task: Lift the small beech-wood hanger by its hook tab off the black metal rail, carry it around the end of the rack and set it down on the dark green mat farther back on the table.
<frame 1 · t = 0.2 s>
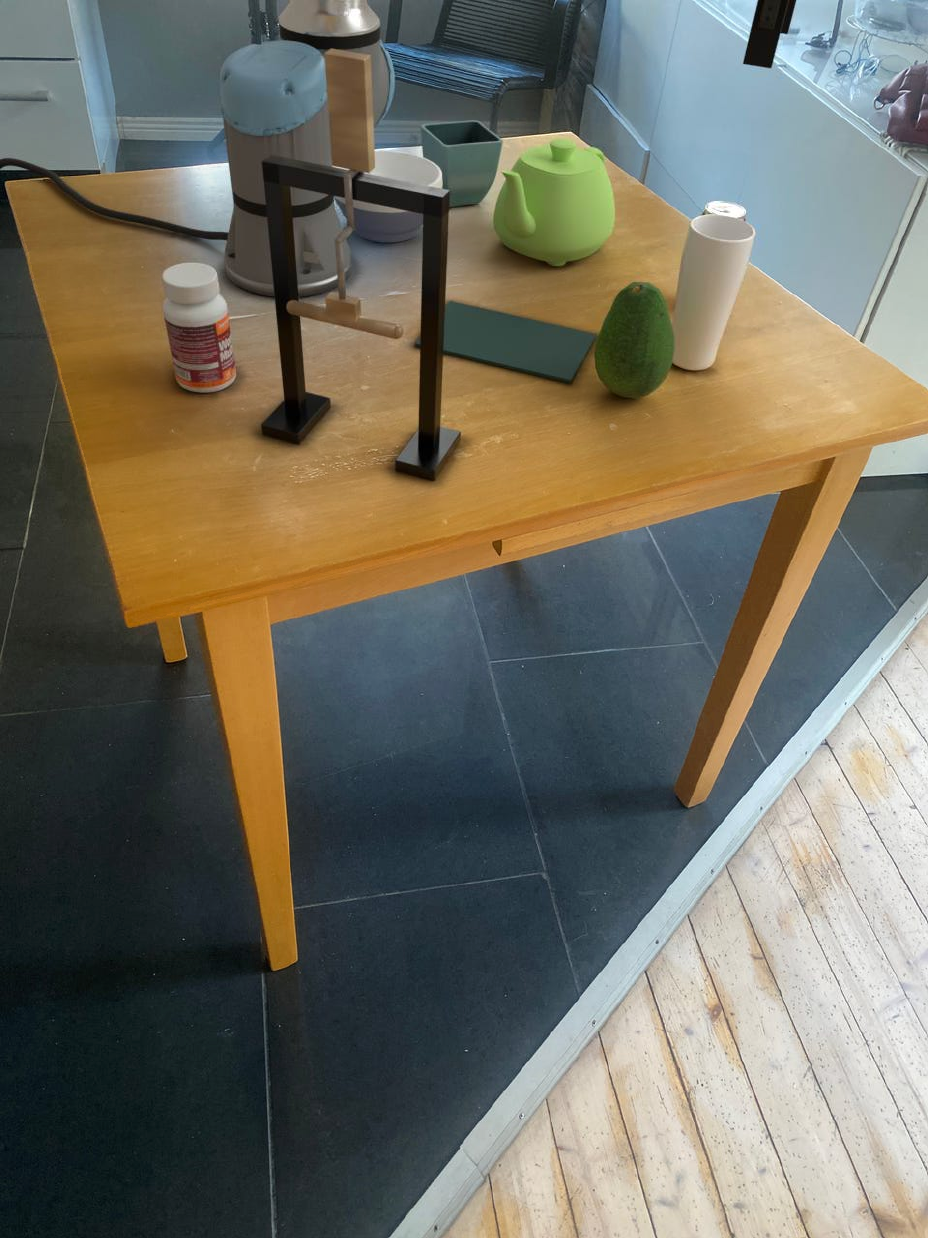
hand: (766, 47, 96), 28 cm above the table, tool pointing down, fingers open, 13 cm apart
teapot: (545, 250, 125), on the table
flower pot: (458, 200, 135), on the table
mat: (507, 341, 107), on the table
pill bottle: (206, 380, 99), on the table
drinking glass: (689, 361, 106), on the table
fruit: (625, 395, 101), on the table
soda can: (701, 309, 115), on the table
hanger: (344, 319, 81), point 14 cm above the table, touching rack
bowl: (386, 231, 126), on the table
rack: (361, 438, 92), on the table
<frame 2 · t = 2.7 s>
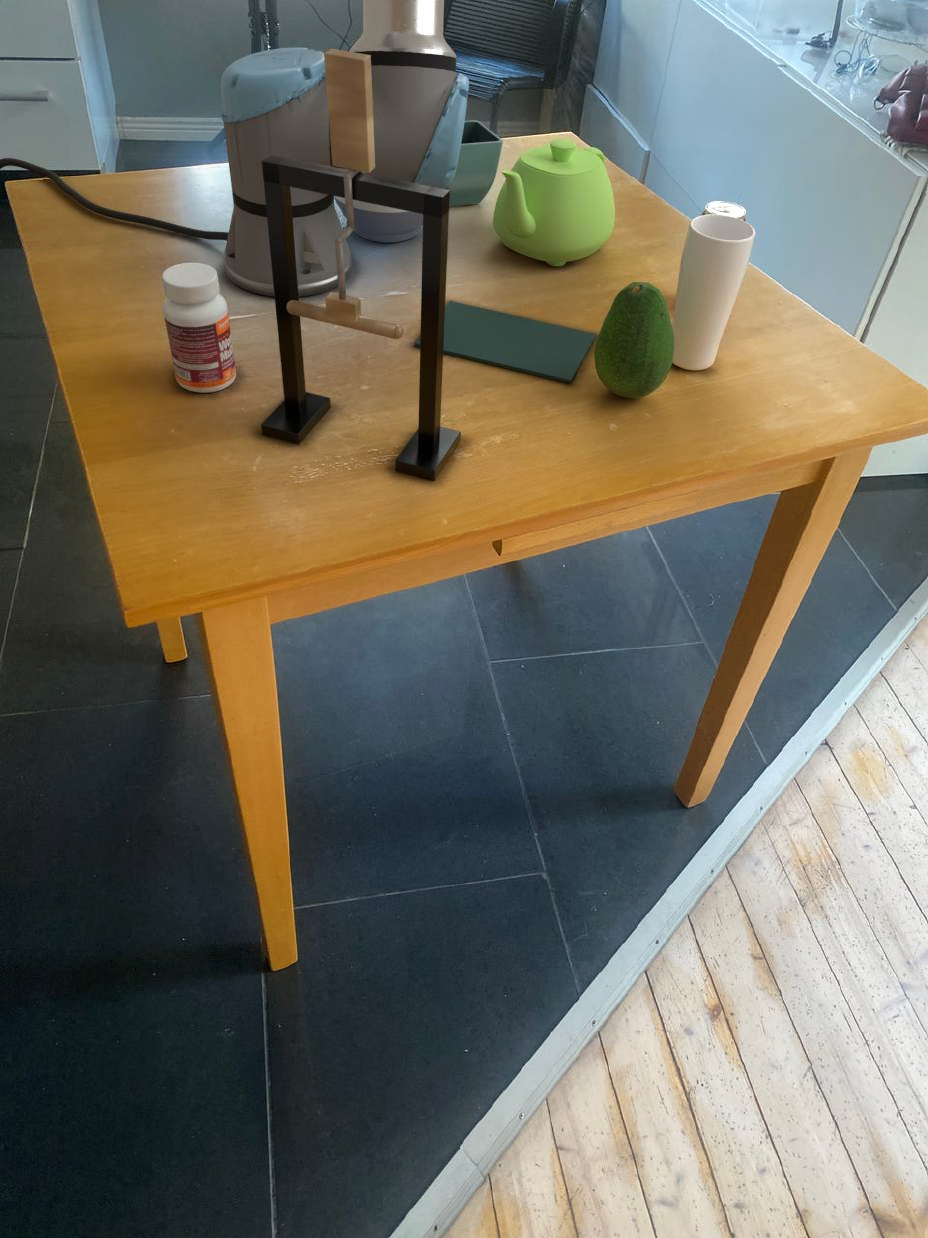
nothing on the table moved.
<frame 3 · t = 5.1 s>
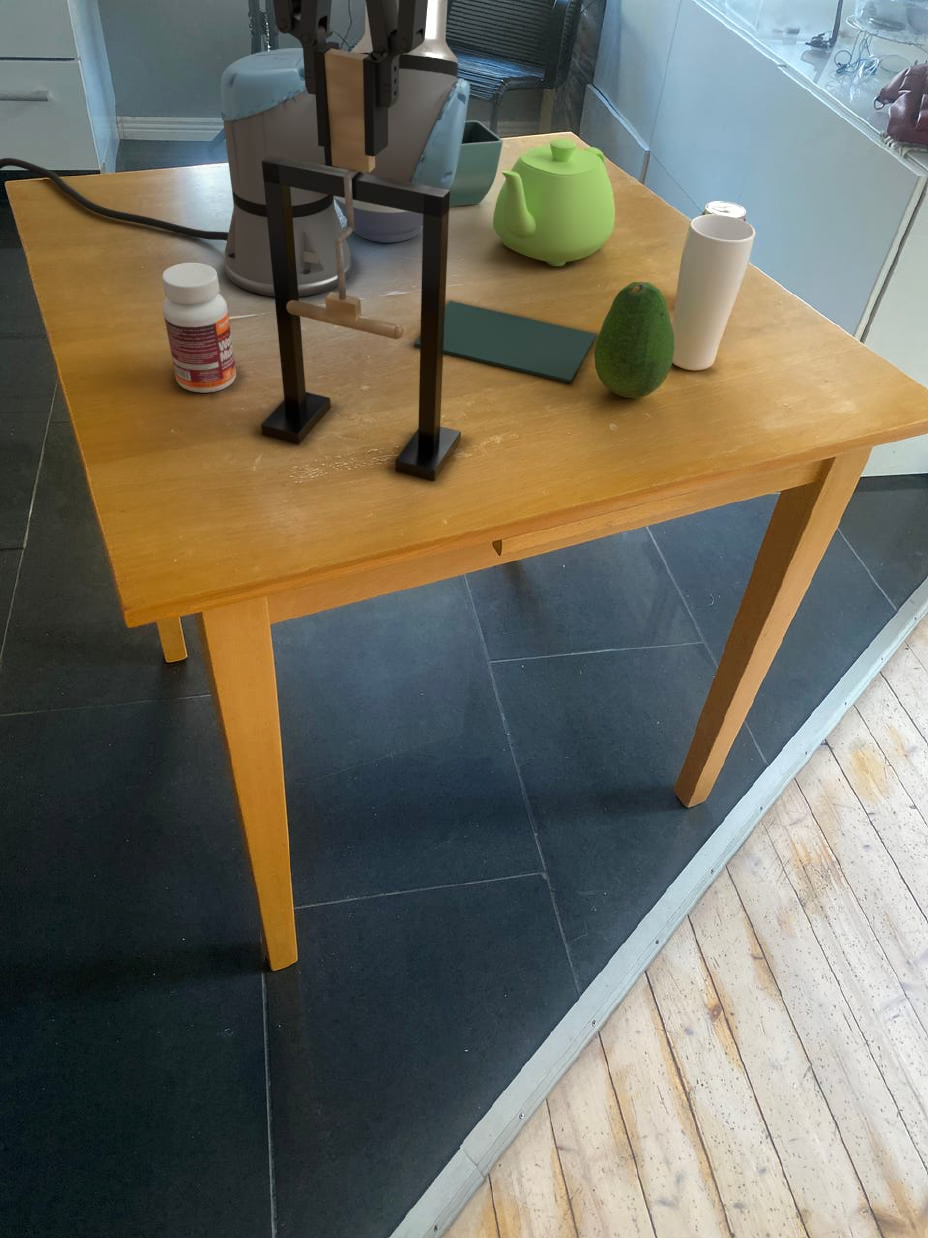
hand: (353, 144, 73), 27 cm above the table, tool pointing down, fingers closed on hanger, 3 cm apart
hanger: (344, 319, 81), point 14 cm above the table, touching gripper, rack
everything else where it was.
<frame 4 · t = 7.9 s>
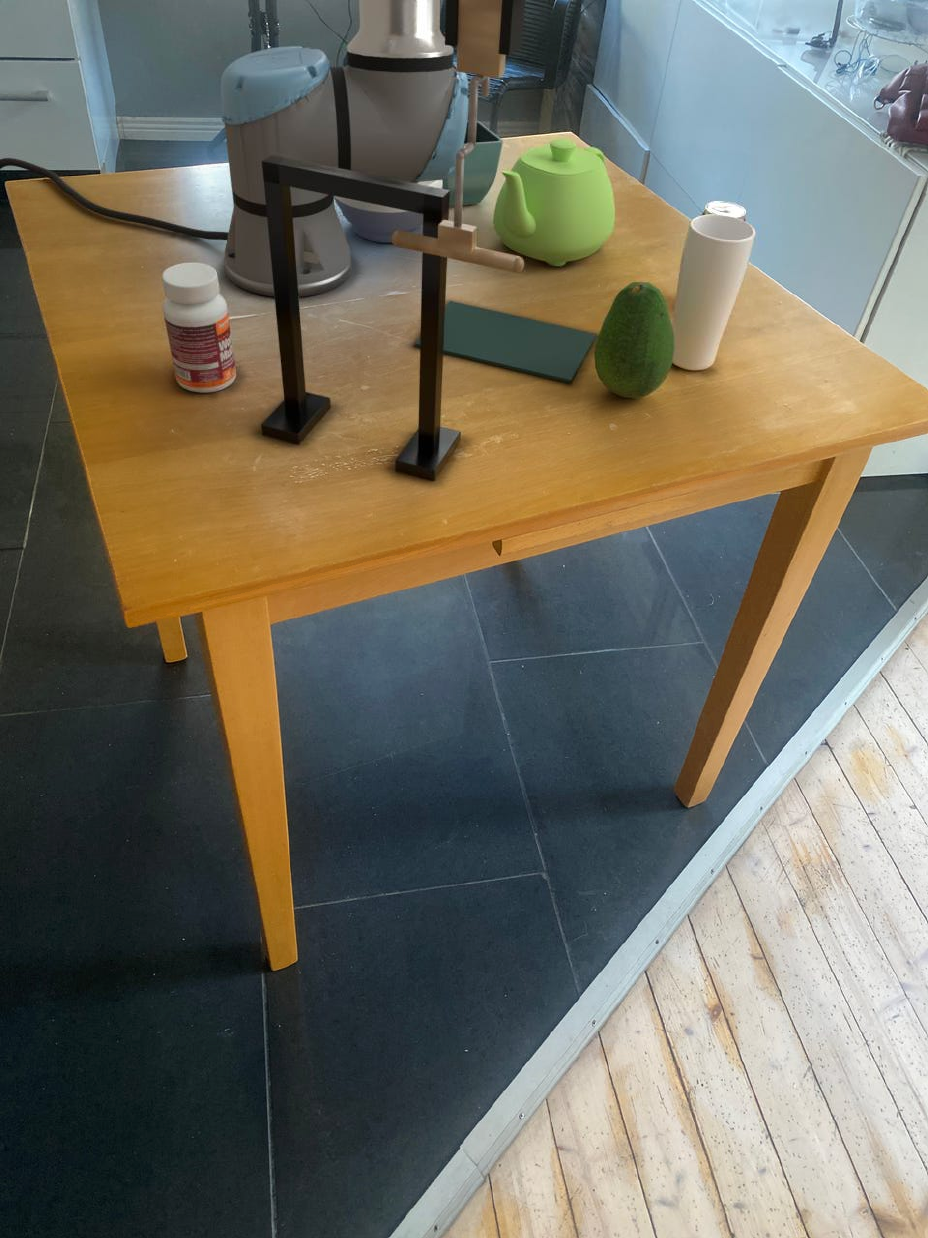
hand: (483, 44, 65), 35 cm above the table, tool pointing down, fingers closed on hanger, 3 cm apart
hanger: (456, 251, 72), point 22 cm above the table, touching gripper
everything else where it was.
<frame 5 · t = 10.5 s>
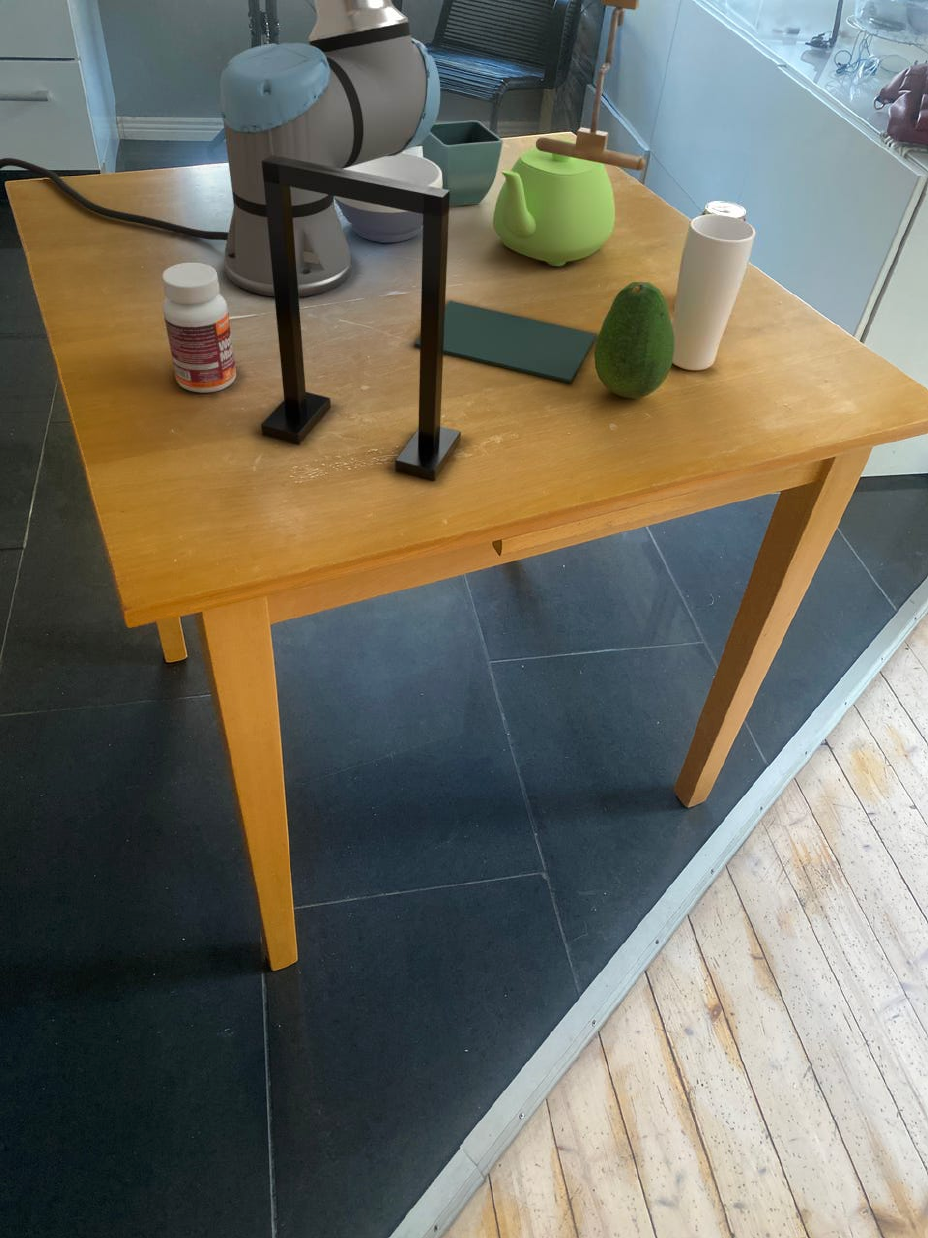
hanger: (590, 153, 90), point 22 cm above the table, touching gripper
everything else where it was.
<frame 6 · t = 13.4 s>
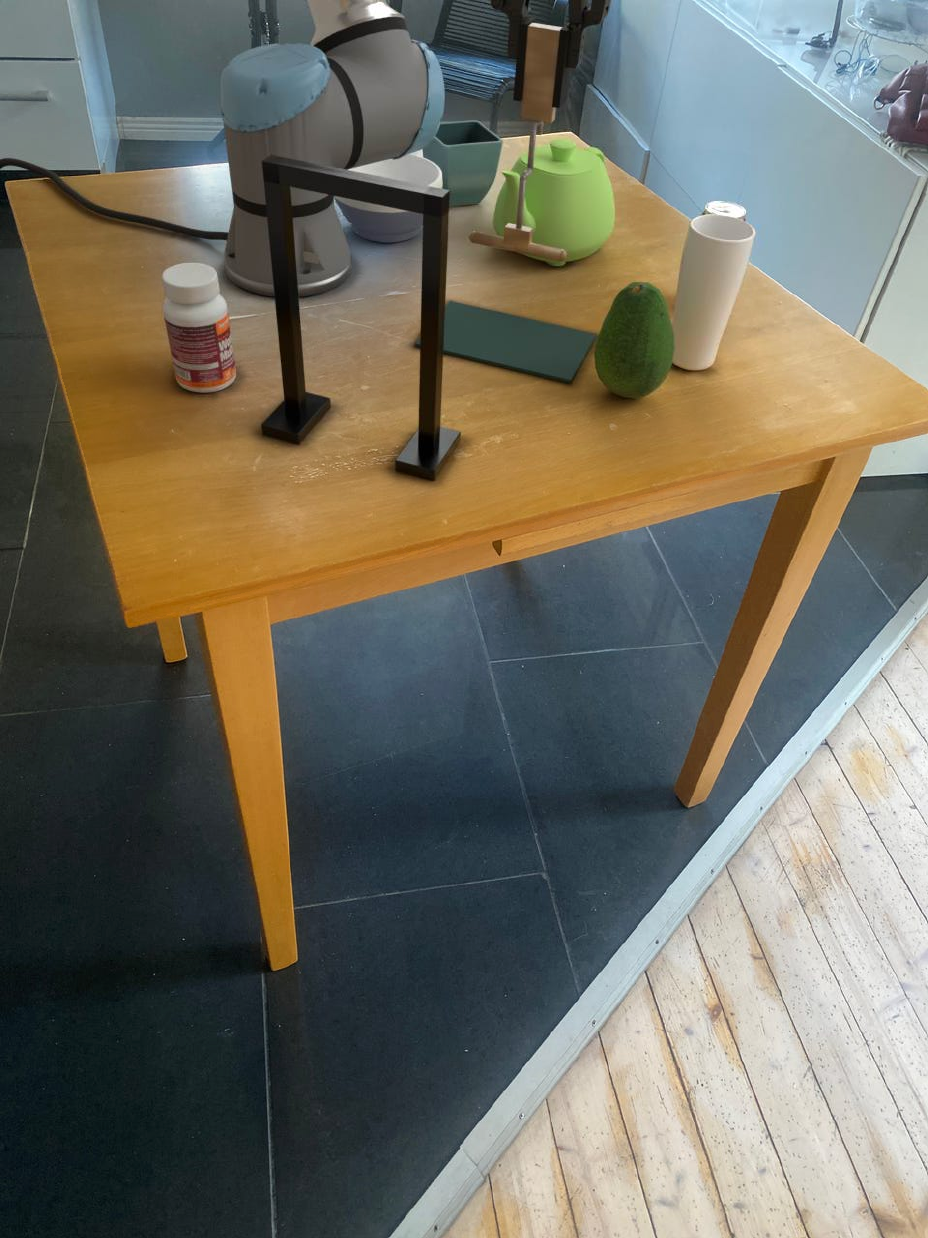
hand: (540, 99, 92), 24 cm above the table, tool pointing down, fingers closed on hanger, 3 cm apart
hanger: (517, 245, 99), point 11 cm above the table, touching gripper
everything else where it was.
when the fingers open (14 cm above the table, at t = 15.8 s): hanger stays where it is and tips over, resting on mat, teapot.
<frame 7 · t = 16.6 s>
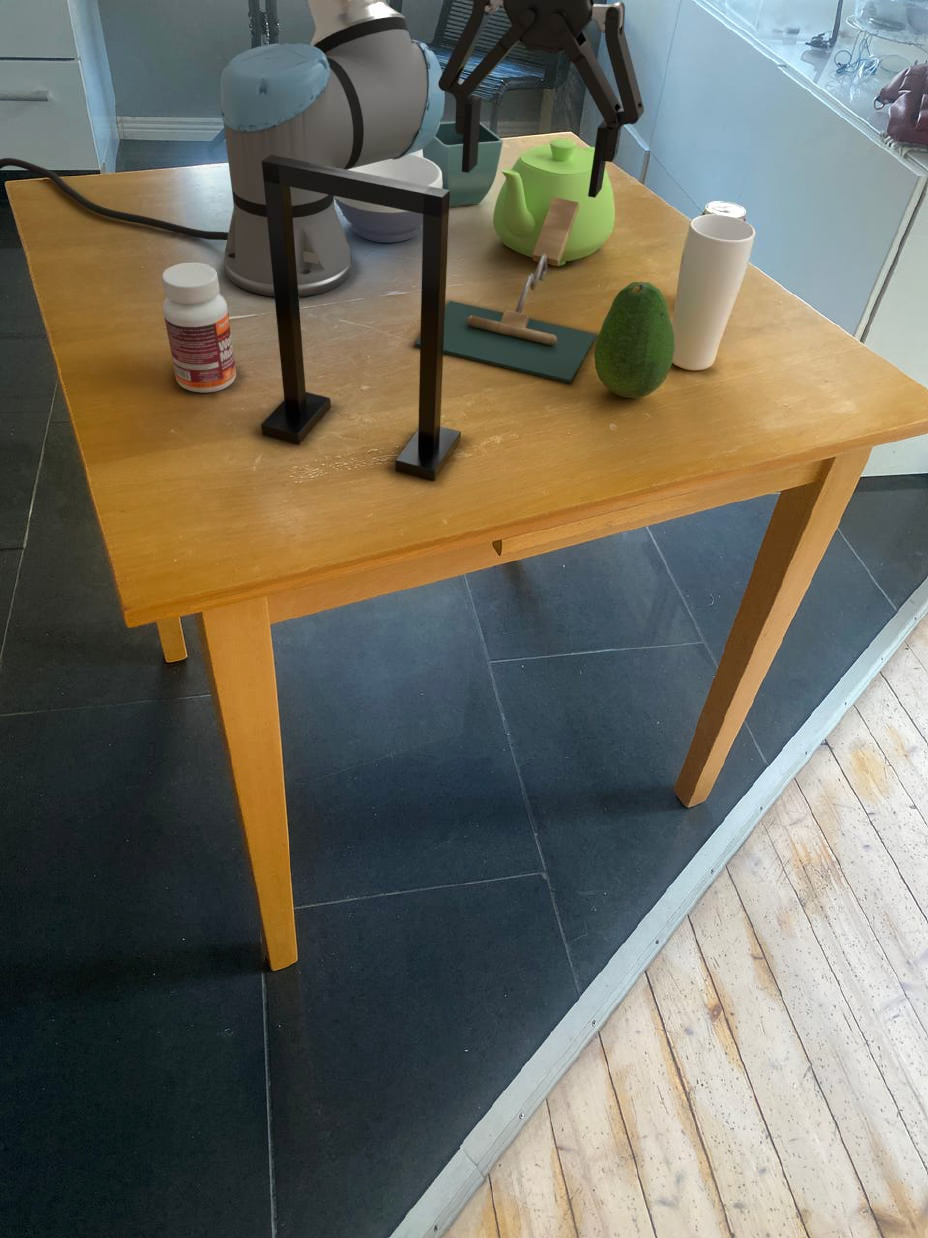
hand: (531, 180, 98), 16 cm above the table, tool pointing down, fingers open, 13 cm apart
teapot: (545, 250, 125), on the table, touching hanger
hanger: (511, 330, 107), point 1 cm above the table, tilted 56°, touching mat, teapot
everything else where it was.
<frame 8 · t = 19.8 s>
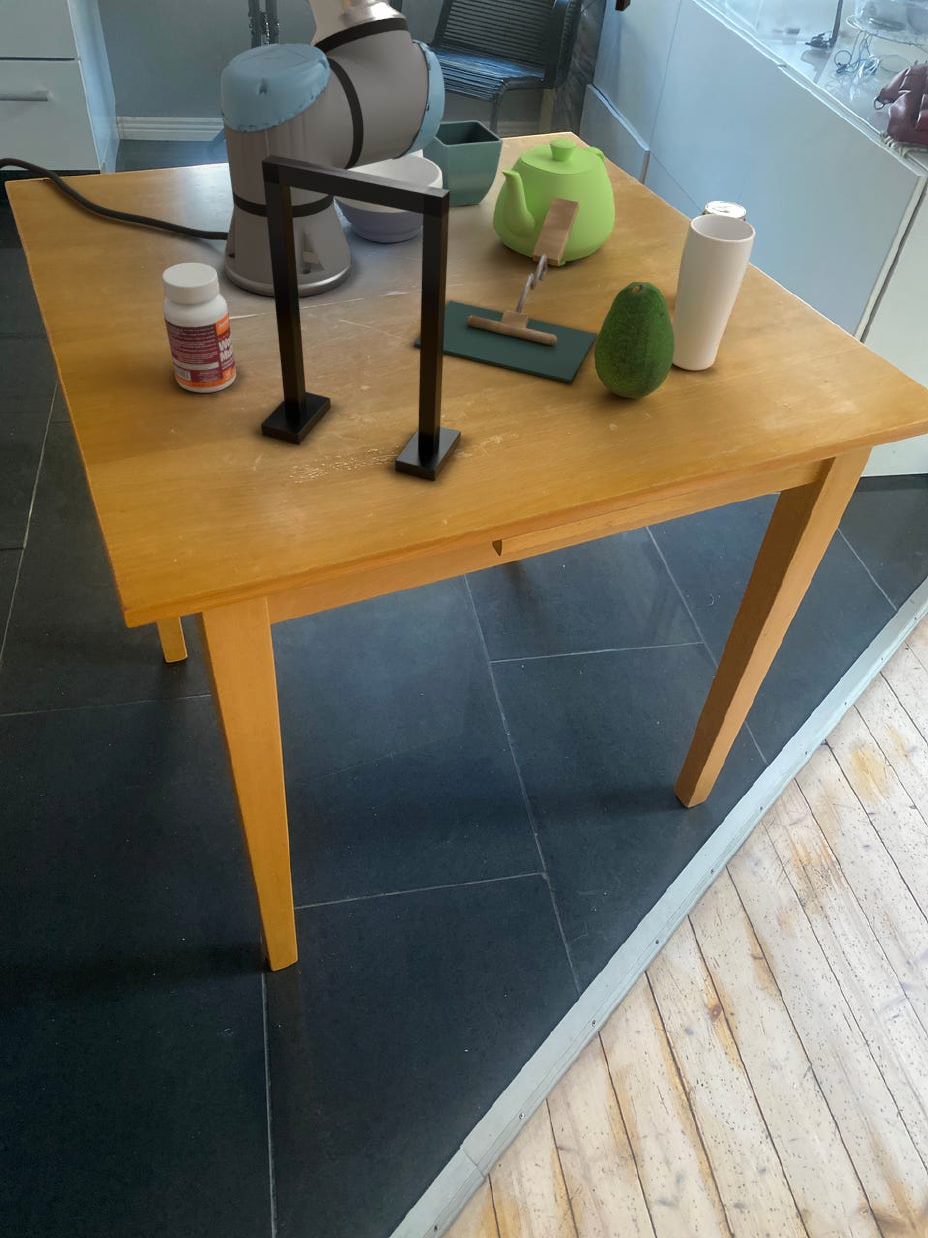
nothing on the table moved.
at the end: hanger inside the target area on the mat (0.8 cm from its centre), point 1.0 cm above the mat's base; hanger touching mat, teapot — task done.
